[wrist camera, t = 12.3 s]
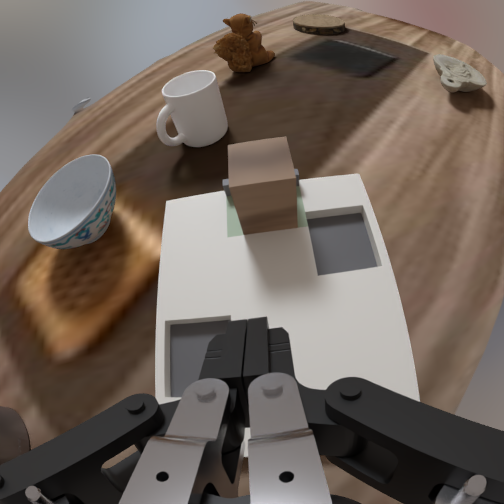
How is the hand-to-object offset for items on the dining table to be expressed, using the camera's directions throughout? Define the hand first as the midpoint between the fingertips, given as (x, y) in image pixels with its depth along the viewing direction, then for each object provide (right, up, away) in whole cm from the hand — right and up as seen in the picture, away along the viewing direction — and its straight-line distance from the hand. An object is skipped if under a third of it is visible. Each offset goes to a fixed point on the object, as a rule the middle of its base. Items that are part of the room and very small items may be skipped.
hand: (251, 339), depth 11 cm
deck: (+3, -2, +19) cm, 20 cm away
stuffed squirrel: (-1, +46, +47) cm, 66 cm away
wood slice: (+21, +72, +59) cm, 95 cm away
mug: (-9, +22, +35) cm, 42 cm away
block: (+2, +8, +23) cm, 24 cm away
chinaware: (-24, +7, +29) cm, 39 cm away
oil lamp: (+47, +41, +37) cm, 72 cm away
